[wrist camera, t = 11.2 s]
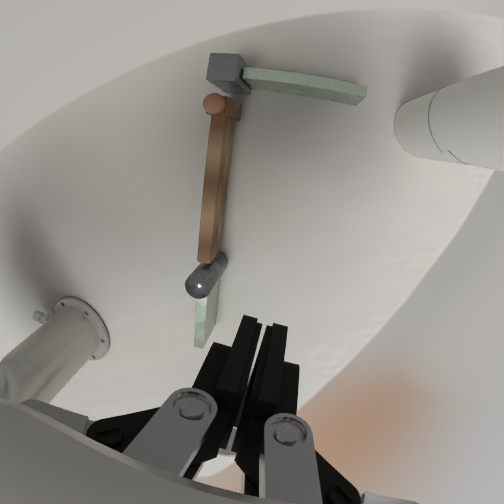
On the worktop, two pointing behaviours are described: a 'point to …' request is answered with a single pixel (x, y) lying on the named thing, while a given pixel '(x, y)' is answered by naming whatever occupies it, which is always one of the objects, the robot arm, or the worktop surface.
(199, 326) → the hinge post
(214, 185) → the gate
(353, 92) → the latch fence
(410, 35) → the worktop surface
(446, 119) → the cylindrical container
